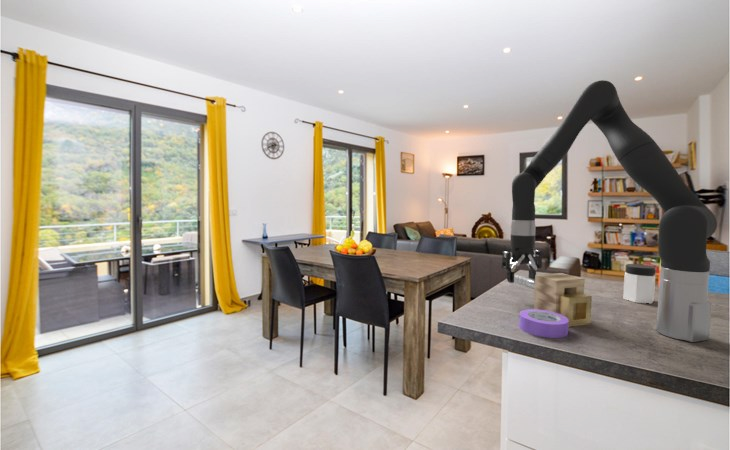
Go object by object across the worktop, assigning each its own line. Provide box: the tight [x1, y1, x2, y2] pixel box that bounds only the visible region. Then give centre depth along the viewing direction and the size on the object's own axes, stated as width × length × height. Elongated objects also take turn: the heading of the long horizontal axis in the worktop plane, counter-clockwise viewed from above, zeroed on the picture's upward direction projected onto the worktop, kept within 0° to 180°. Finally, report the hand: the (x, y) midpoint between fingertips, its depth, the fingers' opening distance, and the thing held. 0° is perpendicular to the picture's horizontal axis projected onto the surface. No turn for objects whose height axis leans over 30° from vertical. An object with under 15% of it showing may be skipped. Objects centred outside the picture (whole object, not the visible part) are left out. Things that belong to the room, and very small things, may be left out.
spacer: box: [559, 293, 593, 328], centre depth 98 cm, size 3×8×8 cm, turn 107°
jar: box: [622, 263, 657, 305], centre depth 121 cm, size 9×8×12 cm
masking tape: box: [518, 308, 569, 339], centre depth 94 cm, size 12×12×4 cm
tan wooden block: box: [533, 272, 585, 316], centre depth 104 cm, size 8×10×12 cm
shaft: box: [514, 274, 566, 295], centre depth 112 cm, size 19×3×3 cm, turn 17°
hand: (521, 281), depth 118 cm, fingers open, 8 cm apart
